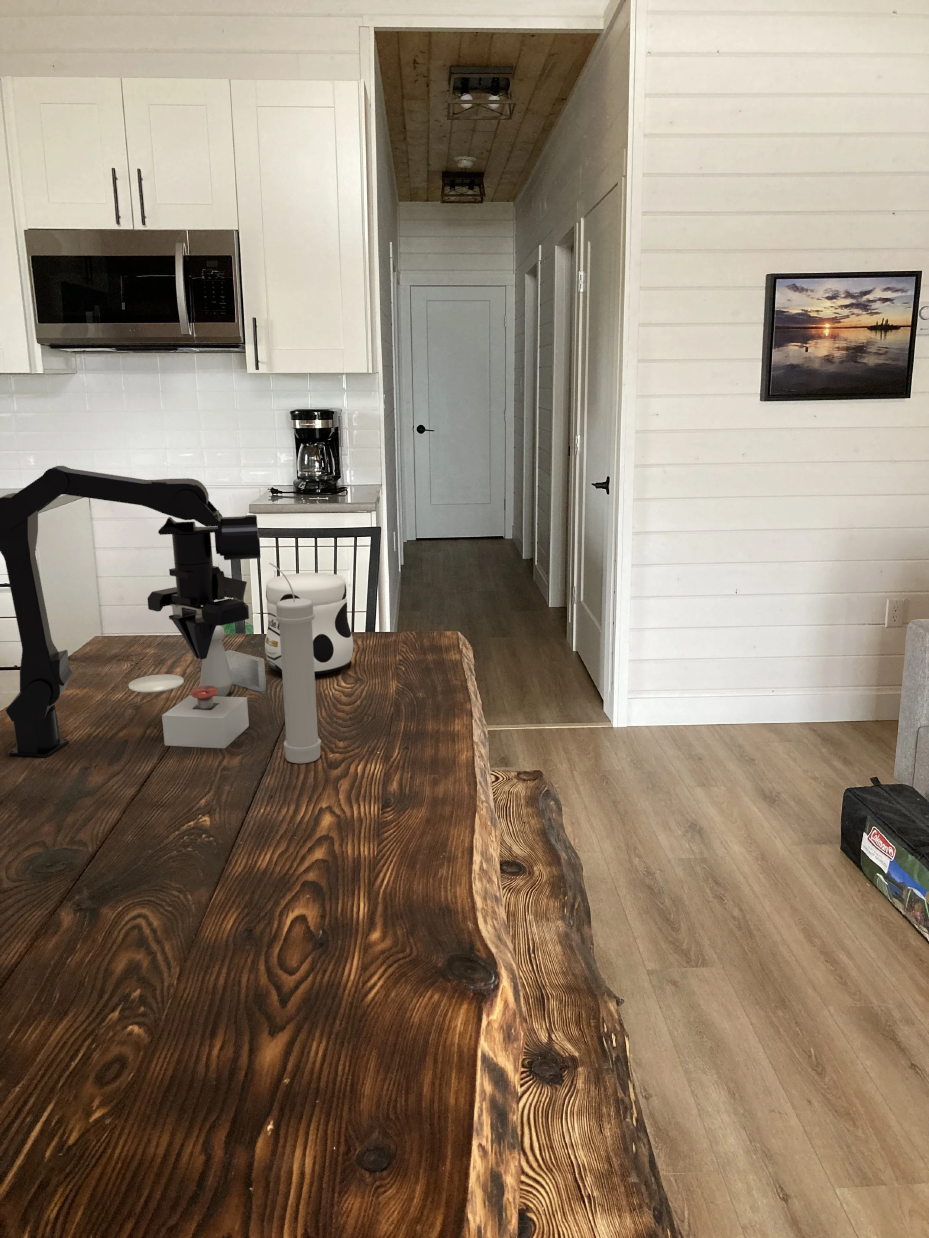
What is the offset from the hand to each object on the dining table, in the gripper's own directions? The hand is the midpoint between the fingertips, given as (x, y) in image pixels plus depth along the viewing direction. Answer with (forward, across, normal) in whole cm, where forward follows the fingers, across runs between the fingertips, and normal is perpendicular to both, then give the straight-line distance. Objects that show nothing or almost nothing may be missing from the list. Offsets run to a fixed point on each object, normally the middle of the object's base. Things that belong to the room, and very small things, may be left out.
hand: (201, 658), depth 150 cm
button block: (+13, 0, 0) cm, 13 cm away
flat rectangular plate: (+13, +16, -20) cm, 29 cm away
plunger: (+10, 0, 0) cm, 10 cm away
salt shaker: (+13, +16, -14) cm, 25 cm away
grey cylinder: (+13, -19, -3) cm, 23 cm away
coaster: (+13, +30, -11) cm, 35 cm away
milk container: (+13, +15, -35) cm, 41 cm away
